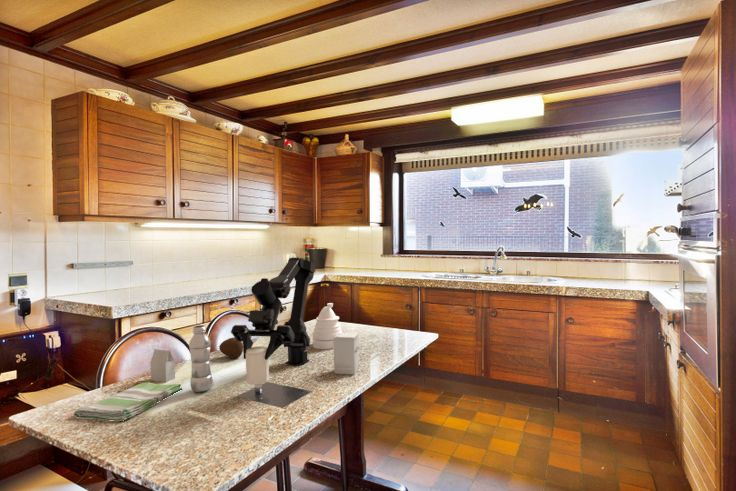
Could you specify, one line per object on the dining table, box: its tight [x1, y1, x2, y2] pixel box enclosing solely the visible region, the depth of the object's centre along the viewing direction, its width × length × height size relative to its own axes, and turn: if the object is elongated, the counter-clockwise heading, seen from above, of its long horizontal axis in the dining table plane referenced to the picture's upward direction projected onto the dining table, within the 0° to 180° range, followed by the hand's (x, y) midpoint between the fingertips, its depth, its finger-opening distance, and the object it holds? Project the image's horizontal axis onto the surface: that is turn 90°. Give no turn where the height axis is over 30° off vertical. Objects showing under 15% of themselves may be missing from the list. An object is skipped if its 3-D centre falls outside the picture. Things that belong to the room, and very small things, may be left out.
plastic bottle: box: [188, 324, 214, 393], centre depth 127 cm, size 6×7×20 cm
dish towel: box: [73, 382, 183, 422], centre depth 119 cm, size 17×23×4 cm
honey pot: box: [312, 302, 343, 350], centre depth 176 cm, size 13×13×18 cm
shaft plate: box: [235, 381, 313, 409], centre depth 121 cm, size 18×13×4 cm
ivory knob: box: [245, 346, 270, 386], centre depth 122 cm, size 6×6×10 cm
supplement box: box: [333, 332, 360, 375], centre depth 142 cm, size 7×7×13 cm
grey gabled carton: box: [149, 348, 176, 383], centre depth 138 cm, size 4×7×10 cm, turn 69°
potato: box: [218, 336, 243, 359], centre depth 162 cm, size 7×10×8 cm
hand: (255, 358), depth 120 cm, fingers closed on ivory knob, 6 cm apart
